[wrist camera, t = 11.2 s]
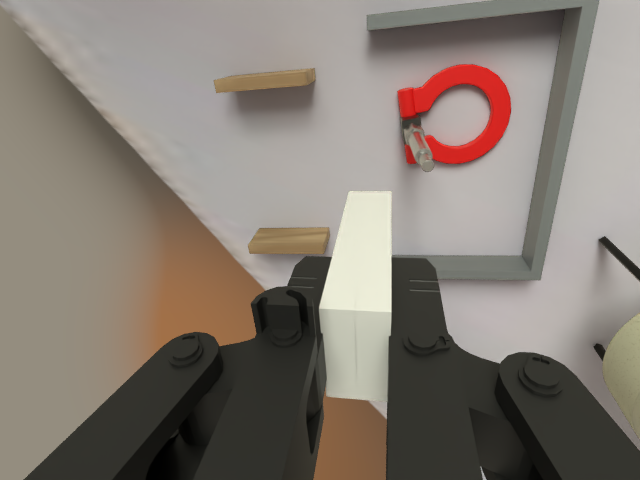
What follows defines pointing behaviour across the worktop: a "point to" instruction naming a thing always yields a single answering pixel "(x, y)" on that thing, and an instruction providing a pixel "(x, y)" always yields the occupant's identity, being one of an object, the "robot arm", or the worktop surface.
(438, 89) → the tow hook
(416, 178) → the worktop surface
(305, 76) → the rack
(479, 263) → the grey piece
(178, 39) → the worktop surface
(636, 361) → the planter
